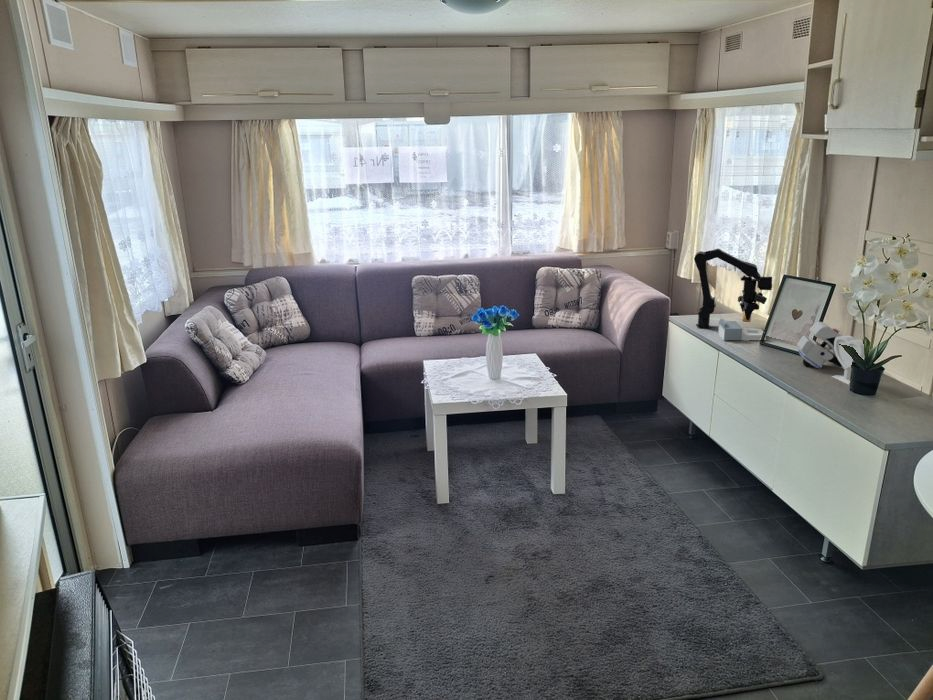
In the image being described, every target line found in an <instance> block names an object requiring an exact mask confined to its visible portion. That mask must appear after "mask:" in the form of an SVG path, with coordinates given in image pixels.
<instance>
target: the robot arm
mask: <svg viewBox="0 0 933 700" xmlns="http://www.w3.org/2000/svg"><path fill="white" fill-rule="evenodd" d="M717 258H718V259H719V260H722V261H723V262H725V263H727V264H729V265H731V266H733V267H735V268H737V269H738V270H739V271H740V272H742V273H743V274H744V275H743V276H742V277H740V281H743V289H742V291H741V292H742V295H739V296H738V297H737V302H738V303H739V306H740V309H741V312H742V313H743V311H744V313H745V316H746V320H749V319H750V316H751V317H752V314H753V312H754V311H758V310H759V309H760V305H759V304H758V303H761V304H763V305H765V304H766V302H767V300H768V298H767V297H766V296H764V294H763V293H762V292H756V289H757V288H758V289H759V290H760V291H772V288H773V276H761V274H760V273H759V272H758V266H757V265H756V264H754V263H752V262H749V261H744V260H741V259H739V258H737V257H736V256H734V255H731V254H729V253H727V252H726V251H724V250H722V249H720V248H716V249H711V250H707V251H702V250H701V251H697V252H696V253H695V255H694V258H693V259H694V263H695V266H696V268H697V270H698V275H699V280H700V285H701V292H702V306H701V308H699V310H698V313H697V314H698V315H697V317H698V318H697V323H696V325H695V326H696V328H698V329H711V328H712V326H711V325H710V322H711V321H710V320H711V319H710V317H711V314H713V313H714V312H715V309H716V306H717V303H716V297H713V296H712V294H711V288H710V283H709V277H708V269H707V265H708V264H707V262H708V261H711V260H714V259H717ZM757 302H758V303H757Z"/></svg>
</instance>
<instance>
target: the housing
mask: <svg viewBox="0 0 933 700" xmlns="http://www.w3.org/2000/svg"><path fill="white" fill-rule="evenodd" d="M718 328H719V333H718V332H717V333H718V335H719V337H720V338H721V337H722V338H721V339H722V340H723V341H724V333H725V330H724V329H723V327H722V326H721V325H720V324H719V323H718ZM741 328H742V337H741V340H760V338H761V336H762V333H763V332H764V331H763V330H762V328H761V327H760V328H752V327H751V328H749V327H747V328H745V327H744V328H743V327H741Z"/></svg>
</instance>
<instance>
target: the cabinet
mask: <svg viewBox="0 0 933 700" xmlns="http://www.w3.org/2000/svg"><path fill="white" fill-rule="evenodd" d="M719 324H720V325H721V326H722V327H723V329H724V330H725V333H724V340H741V337H742V328H743V327H741V326H740V324H738V322H737V321H736V320H732V321H731V320H725V319H724V318H722V317H720V318H719V321H718V325H719ZM717 329H718V331H717V333H719V327H718V328H717ZM724 340H723V341H724Z"/></svg>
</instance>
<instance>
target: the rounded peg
mask: <svg viewBox="0 0 933 700" xmlns="http://www.w3.org/2000/svg"><path fill="white" fill-rule="evenodd" d="M751 321H752V315H751V316H750V319H749V320H746V316H745V313H744V311H743V312H742V322H743V323H751Z"/></svg>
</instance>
